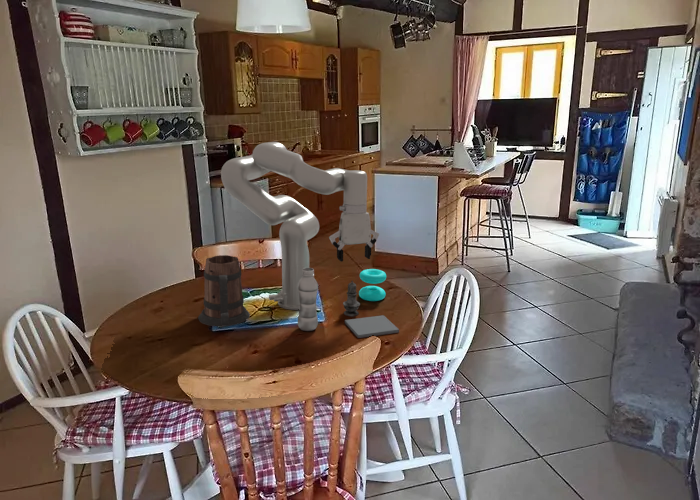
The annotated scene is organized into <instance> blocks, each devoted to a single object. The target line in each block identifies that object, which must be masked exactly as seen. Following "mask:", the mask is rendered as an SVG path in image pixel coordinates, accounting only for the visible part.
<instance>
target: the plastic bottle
mask: <svg viewBox="0 0 700 500" xmlns="http://www.w3.org/2000/svg"><path fill="white" fill-rule="evenodd" d="M302 276H303V277H302V278H301V279H300V281H299V283H298V293H299V304H300V306H299V310H298V315H297V326H298V328H299V329H300V330H301V331H304V332H312V331H314V330H316V328H317V327H318V325H319V324H318V323H319V320H318V313H317V311H318V310H317V295H318V288H319V284H318V281H317V280H316V279H315V269H314V268H313V267H309V268H303V269H302Z"/></svg>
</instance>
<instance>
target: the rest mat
mask: <svg viewBox="0 0 700 500" xmlns="http://www.w3.org/2000/svg"><path fill="white" fill-rule="evenodd" d="M344 324H345V325H346V326H347V327H348V328H349V329H350V331H351V332H352V333H353V335H355V336H356V337H357V339H360V338H361V339H362V338H369V336H370V337H374V336H375V337H376V336H382V335H389V334H396V333H397V334H399V333H400V329H399V328H398V326H396V325H395V323H392V322H391V320H389V319H388V318H387V317H386V316H385V315H384V314H382V315H376V316H366V317H358V318H352V319H345V320H344ZM372 335H374V336H372Z"/></svg>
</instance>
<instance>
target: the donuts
mask: <svg viewBox="0 0 700 500" xmlns="http://www.w3.org/2000/svg"><path fill="white" fill-rule="evenodd" d="M359 278H360V280H361V281H362V282H364V283H366V284H371V285H366V286H363V287H362V288H360V290H359V291H358V295H359V298H361V299H362V300H364V301H369V302H378V301H382V300H383V299H385V297H386V296H387V295H386V294H387V293H386V291H385V290H384V289H383V288H382V287H380V286H377V284H382V283H384V282H385V281H386V279H387V274H386V272H385V271H383V270H381V269H378V268H377V269H376V268H369V269H368V268H367V269H363V270H362V271H360V273H359Z"/></svg>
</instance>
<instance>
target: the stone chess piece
mask: <svg viewBox="0 0 700 500" xmlns="http://www.w3.org/2000/svg"><path fill="white" fill-rule="evenodd" d="M357 295H358V292H357V284H356V283H355V282H354V281H353V280H351V282H349V283H348V284H347V292H346V296H347V298H346V300H345V301H343V302H342V305H343V307H344V309H345V310H344V311H343V315H345V316H347V317H356V316H358V315H359V314H360V313H359V311H358V310H359V307H360V306H361V303H360V302H359V301H358V300H357Z"/></svg>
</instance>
